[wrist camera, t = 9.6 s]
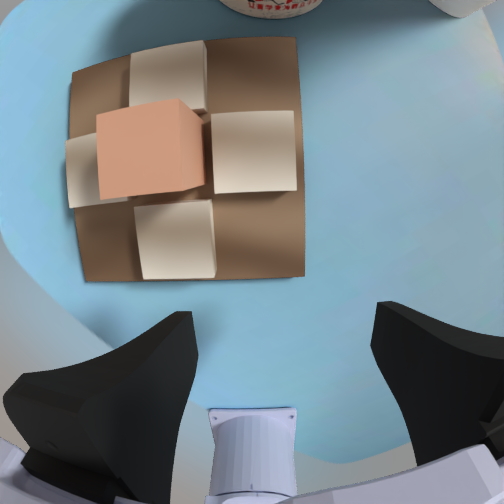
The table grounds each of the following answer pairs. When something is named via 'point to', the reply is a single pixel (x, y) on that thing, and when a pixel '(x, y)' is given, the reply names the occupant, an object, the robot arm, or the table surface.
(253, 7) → the teacup with lid
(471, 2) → the cylindrical container
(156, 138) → the terracotta block
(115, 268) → the walnut board
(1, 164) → the table surface
